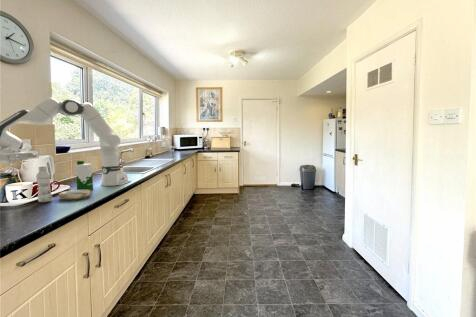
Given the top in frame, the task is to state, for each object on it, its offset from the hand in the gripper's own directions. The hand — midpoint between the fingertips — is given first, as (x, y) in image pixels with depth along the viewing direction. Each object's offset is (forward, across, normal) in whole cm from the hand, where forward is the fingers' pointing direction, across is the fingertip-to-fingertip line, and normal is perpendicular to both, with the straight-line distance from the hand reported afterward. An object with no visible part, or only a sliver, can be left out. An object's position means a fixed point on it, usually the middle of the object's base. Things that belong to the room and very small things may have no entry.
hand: (26, 156), depth 144 cm
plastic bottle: (+12, 0, +26) cm, 28 cm away
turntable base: (+20, +12, +26) cm, 35 cm away
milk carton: (+7, +30, +26) cm, 40 cm away
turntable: (+20, +12, +24) cm, 34 cm away
